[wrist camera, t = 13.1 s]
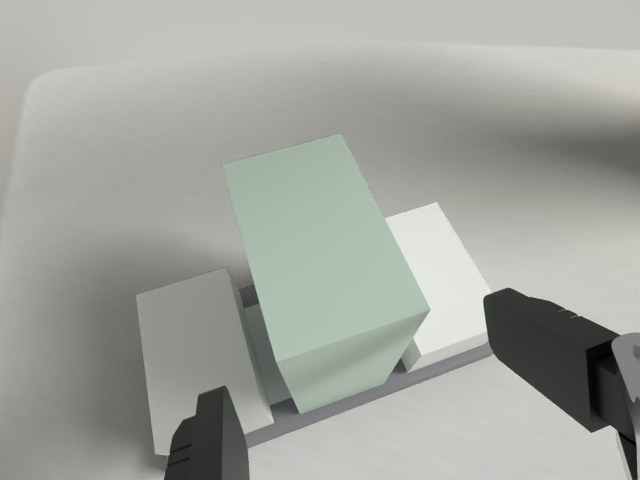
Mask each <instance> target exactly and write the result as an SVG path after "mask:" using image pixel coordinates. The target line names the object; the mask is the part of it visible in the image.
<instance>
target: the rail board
mask: <svg viewBox="0 0 640 480" xmlns="http://www.w3.org/2000/svg"><path fill="white" fill-rule="evenodd" d="M385 220H386V222H387V224H388V226H389V228H390V230H391V232H392V234H393V236H394V238H395V240H396V242H397V244H398V246H399V248H400V249H401V251H402V253H403V255H404V257H405V259H406V261H407V263H408V265H409V267H410V269H411V271H412V273H413V275H414V277H415V279H416V281H417V283H418V285H419V287H420V289H421V291H422V293H423V295H424V297H425V299H426V301H427V303H428V305H429V307H430V309H431V310H430V312H429V313H428V315H427V316H426V318H425V320H424V321H423V323H422V324H421V326H420V327H419V329H418V331H417V332H416V334H415V335H414V337H413V339H412V340H411V342H410V343H409V345H408V346H407V348H406V350H405V351H404V353H403V354H402V356H401V358H400V359H399V361H398V362H397V364H396V365H395V367H394V369H393V370H392V372H391V373H390V375H389V377H388V378H387V380H386V381H385V383H384V384H382V385H379V386H377V387H374V388H371V389H368V390H366V391H363V392H360V393H358V394H355V395H352V396H349V397H347V398H344V399H341V400H338V401H336V402H333V403H330V404H327V405H325V406H322V407H319V408H317V409H314V410H311V411H308V412H306V413H303V414H300V413H299V411H298V409H297V406H296V404H295V402H294V400H293V398H292V396H291V394H290V391H289V389H288V387H287V385H286V383H285V381H284V378H283V376H282V374H281V372H280V370H279V368H278V366H277V363H276V360H275V357H274V353H273V349H272V346H271V342H270V339H269V335H268V332H267V328H266V324H265V321H264V317H263V314H262V310H261V306H260V303H259V299H258V296H257V292H256V288H255V285H252V286H249V287H246V288H243V289H240V290H238V289H237V287H236V285H235V283H234V281H233V279H232V277H231V275H230V273H229V271H228V268H227V267H225V268H221V269H218V270H215V271H212V272H208V273H205V274H202V275H199V276H195V277H192V278H189V279H186V280H182V281H179V282H176V283H173V284H169V285H166V286H163V287H160V288H156V289H153V290H150V291H147V292H143V293H140V294H137V295H136V303H137V311H138V319H139V327H140V335H141V344H142V352H143V360H144V368H145V376H146V384H147V393H148V401H149V409H150V417H151V425H152V434H153V442H154V450H155V454H157V455H165V459H166V467H167V462H168V457H169V455H170V446H171V441H172V436H173V435H174V433H175V431H176V430H177V428H178V427H179V425H180V424H181V422H182V421H183V420H184V419H187V418H189V417H192V416H195V415H196V407H197V399H198V395H199V394H201V393H204V392H207V391H210V390H213V389H216V388H218V387H221V386H224V385H225V386H226V387H227V389H228V391H229V394H230V396H231V399H232V402H233V405H234V407H235V410H236V413H237V416H238V418H239V421H240V424H241V427H242V429H243V432H244V436H245V440H246V444H247V448H250V447H253V446H255V445H258V444H261V443H263V442H266V441H268V440H271V439H274V438H276V437H279V436H282V435H284V434H287V433H289V432H292V431H295V430H297V429H300V428H302V427H305V426H308V425H310V424H313V423H316V422H318V421H321V420H323V419H326V418H329V417H331V416H334V415H337V414H339V413H342V412H344V411H347V410H350V409H352V408H355V407H358V406H360V405H363V404H365V403H368V402H371V401H373V400H376V399H378V398H381V397H384V396H386V395H389V394H392V393H394V392H397V391H399V390H402V389H405V388H407V387H410V386H413V385H415V384H418V383H420V382H423V381H426V380H428V379H431V378H434V377H436V376H439V375H441V374H444V373H447V372H449V371H452V370H455V369H457V368H460V367H462V366H465V365H468V364H470V363H473V362H475V361H478V360H481V359H483V358H486V357H489V356H491V355H492V354H494V353H493V351H492V349H491V347H490V344H489V341H488V334H487V328H486V321H485V314H484V307H483V298H484V296H486V295H488V294H491V293H492V292H491V290H490V288H489V287H488V285H487V283H486V282H485V280H484V278H483V277H482V275H481V274H480V272H479V270H478V269H477V267H476V265H475V264H474V262H473V260H472V259H471V257H470V256H469V254H468V252H467V251H466V249H465V247H464V246H463V244H462V242H461V241H460V239H459V238H458V236H457V234H456V233H455V231H454V229H453V228H452V226H451V224H450V223H449V221H448V219H447V218H446V216H445V215H444V213H443V211H442V210H441V208H440V206H439V205H438V203H437V202H436V203H432V204H429V205H426V206H423V207H419V208H416V209H413V210H410V211H406V212H403V213H400V214H397V215H393V216H390V217H387V218H385Z"/></svg>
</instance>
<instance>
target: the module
mask: <svg viewBox="0 0 640 480" xmlns="http://www.w3.org/2000/svg"><path fill="white" fill-rule="evenodd" d="M221 166H222V170H223V173H224V177H225V181H226V184H227V188H228V191H229V195H230V199H231V202H232V206H233V209H234V213H235V217H236V220H237V224H238V227H239V231H240V234H241V238H242V242H243V245H244V249H245V252H246V256H247V260H248V263H249V267H250V270H251V274H252V278H253V281H254V285H255V288H256V292H257V296H258V299H259V303H260V306H261V310H262V314H263V317H264V321H265V324H266V328H267V332H268V335H269V339H270V342H271V346H272V349H273V353H274V357H275V360H276V363H277V366H278V368H279V370H280V372H281V374H282V376H283V378H284V381H285V383H286V385H287V387H288V389H289V391H290V394H291V396H292V398H293V400H294V402H295V404H296V406H297V409H298V411H299V413H300V414H303V413H306V412H308V411H311V410H314V409H317V408H319V407H322V406H325V405H327V404H330V403H333V402H336V401H338V400H341V399H344V398H347V397H349V396H352V395H355V394H358V393H360V392H363V391H366V390H368V389H371V388H374V387H377V386H379V385H382V384H384V383H385V381H386V380H387V378H388V377H389V375H390V373H391V372H392V370H393V369H394V367H395V365H396V364H397V362H398V361H399V359H400V358H401V356H402V354H403V353H404V351H405V350H406V348H407V346H408V345H409V343H410V342H411V340H412V339H413V337H414V335H415V334H416V332H417V331H418V329H419V327H420V326H421V324H422V323H423V321H424V320H425V318H426V316H427V315H428V313H429V312H430V310H431V309H430V307H429V305H428V303H427V301H426V299H425V297H424V295H423V293H422V291H421V289H420V287H419V285H418V283H417V281H416V279H415V277H414V275H413V273H412V271H411V269H410V267H409V265H408V263H407V261H406V259H405V257H404V255H403V253H402V251H401V249H400V248H399V246H398V244H397V242H396V240H395V238H394V236H393V234H392V232H391V230H390V228H389V226H388V224H387V222H386V220H385V218H384V216H383V214H382V212H381V210H380V208H379V206H378V204H377V202H376V200H375V198H374V196H373V194H372V192H371V190H370V188H369V186H368V184H367V182H366V180H365V178H364V176H363V174H362V172H361V170H360V168H359V166H358V164H357V162H356V160H355V158H354V156H353V154H352V152H351V150H350V148H349V146H348V144H347V143H346V141H345V139H344V137H343V135H342V133H340V134H336V135H332V136H328V137H325V138H321V139H317V140H313V141H309V142H305V143H302V144H298V145H294V146H290V147H286V148H282V149H279V150H275V151H271V152H267V153H263V154H260V155H256V156H252V157H248V158H244V159H240V160H237V161H233V162H229V163H225V164H221Z"/></svg>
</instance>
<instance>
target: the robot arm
mask: <svg viewBox="0 0 640 480" xmlns="http://www.w3.org/2000/svg"><path fill="white" fill-rule="evenodd" d="M483 307H484V314H485V321H486V328H487V334H488V341H489V344H490V347H491V349H492V351H493V353H494V354H495V356H496V357H497V358H498V359H499V360H500V361H501V362H502V363H504V364H505V365H506V366H507V367H509V368H510V369H511V370H512V371H514V372H515V373H516V374H518V375H519V376H520V377H521V378H523V379H524V380H525V381H526V382H528V383H529V384H530V385H532V386H533V387H534V388H535V389H537V390H538V391H539V392H540V393H542V394H543V395H544V396H545V397H547V398H548V399H549V400H551V401H552V402H553V403H554V404H556V405H557V406H558V407H559V408H561V409H562V410H563V411H565V412H566V413H567V414H568V415H570V416H571V417H572V418H573V419H575V420H576V421H577V422H578V423H580V424H581V425H582V426H584V427H585V428H586V429H587V430H589V431H590V432H591V433H592V432H595V431H597V430H599V429H602V428H604V427H606V426H609V425H611V426H612V427H614V428H615V429H616V441H617V445H618V448H619V452H620V455H621V459H622V462H623V466H624V469H625V472H626V476H627V479H628V480H640V333H629V334H624V335H619V334H617V333H615V332H613V331H611V330H609V329H607V328H605V327H602V326H600V325H598V324H596V323H594V322H592V321H590V320H588V319H586V318H584V317H582V316H578V315H577V314H575V313H573V312H571V311H569V310H565V308H563V307H561V306H559V305H557V304H555V303H553V302H550V301H547V300H542V299H537V298H533V297H530V298H529V297H527V296H525V295H523V294H521V293H519V292H517V291H515V290H513V289H511V288H505V289H502V290H500V291H497V292H494V293H491V294H488V295H486V296H484V298H483ZM164 480H250V478H249V461H248V450H247V444H246V440H245V436H244V432H243V429H242V427H241V424H240V421H239V418H238V416H237V413H236V410H235V407H234V405H233V402H232V399H231V396H230V394H229V391H228V389H227V387H226V386H225V385H224V386H221V387H218V388H216V389H213V390H210V391H207V392H204V393H201V394H199V395H198V399H197V407H196V415H195V416H192V417H189V418H187V419H184V420H183V421H182V422H181V424H180V425H179V427H178V428H177V430H176V431H175V433H174V435H173V436H172V441H171V446H170V455H169V457H168V462H167V469H166V472H165V477H164Z"/></svg>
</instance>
